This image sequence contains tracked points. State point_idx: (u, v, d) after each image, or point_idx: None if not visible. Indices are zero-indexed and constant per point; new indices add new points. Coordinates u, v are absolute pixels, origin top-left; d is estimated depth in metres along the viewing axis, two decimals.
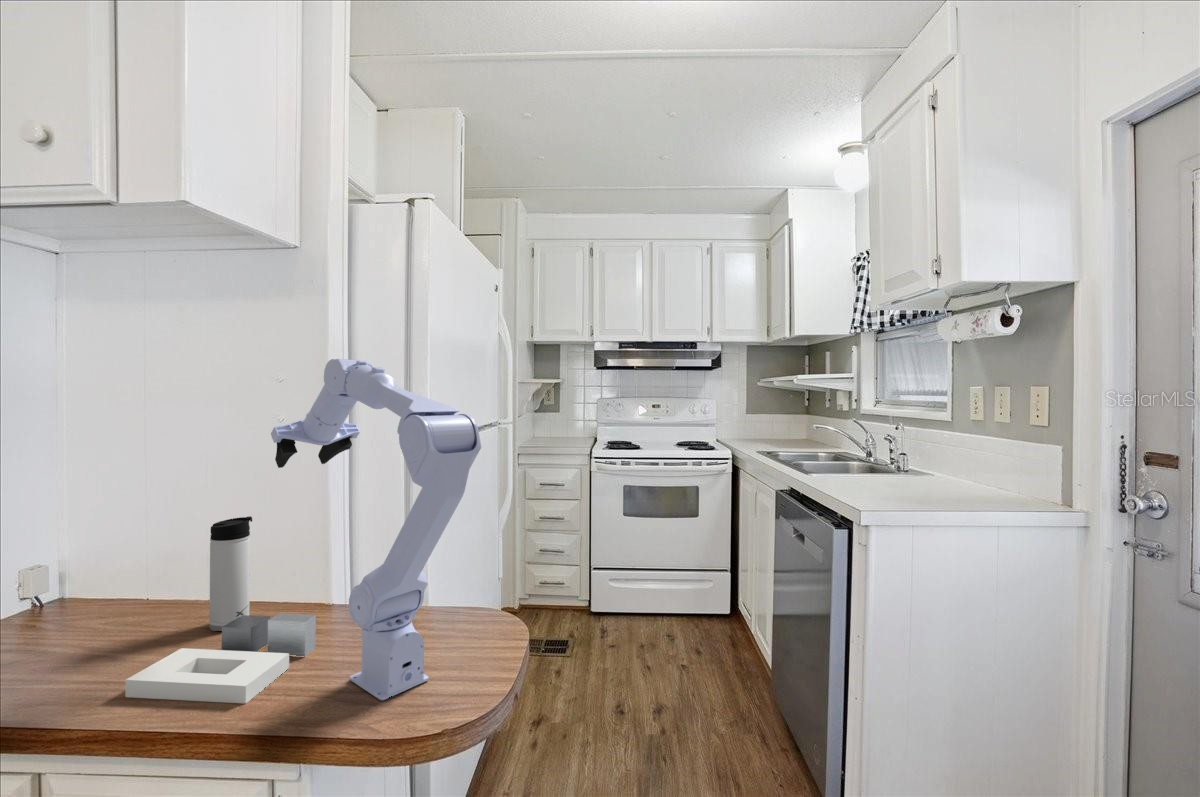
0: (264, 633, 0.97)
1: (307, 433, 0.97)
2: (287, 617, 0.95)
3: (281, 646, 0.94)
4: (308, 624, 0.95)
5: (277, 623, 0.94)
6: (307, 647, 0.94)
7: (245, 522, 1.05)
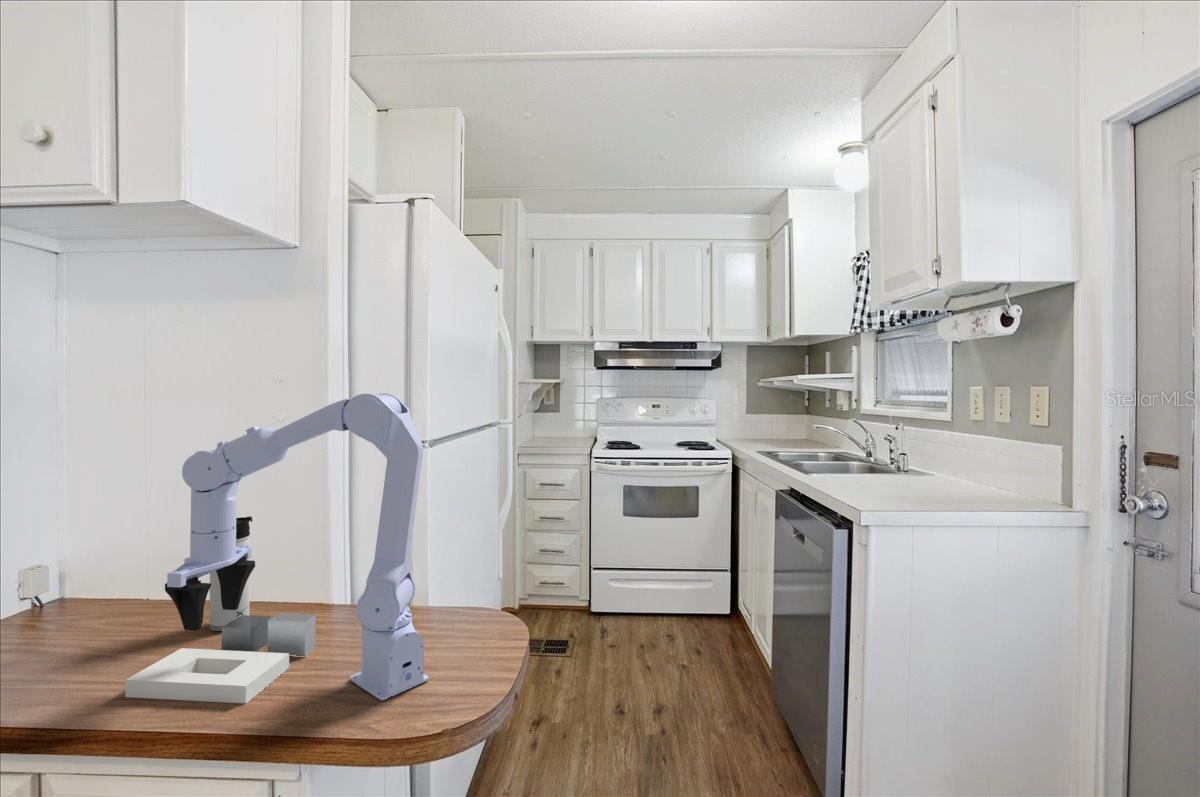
0: (264, 633, 0.97)
1: (207, 561, 0.83)
2: (287, 617, 0.95)
3: (281, 646, 0.94)
4: (308, 624, 0.95)
5: (277, 623, 0.94)
6: (307, 647, 0.94)
7: (245, 522, 1.05)
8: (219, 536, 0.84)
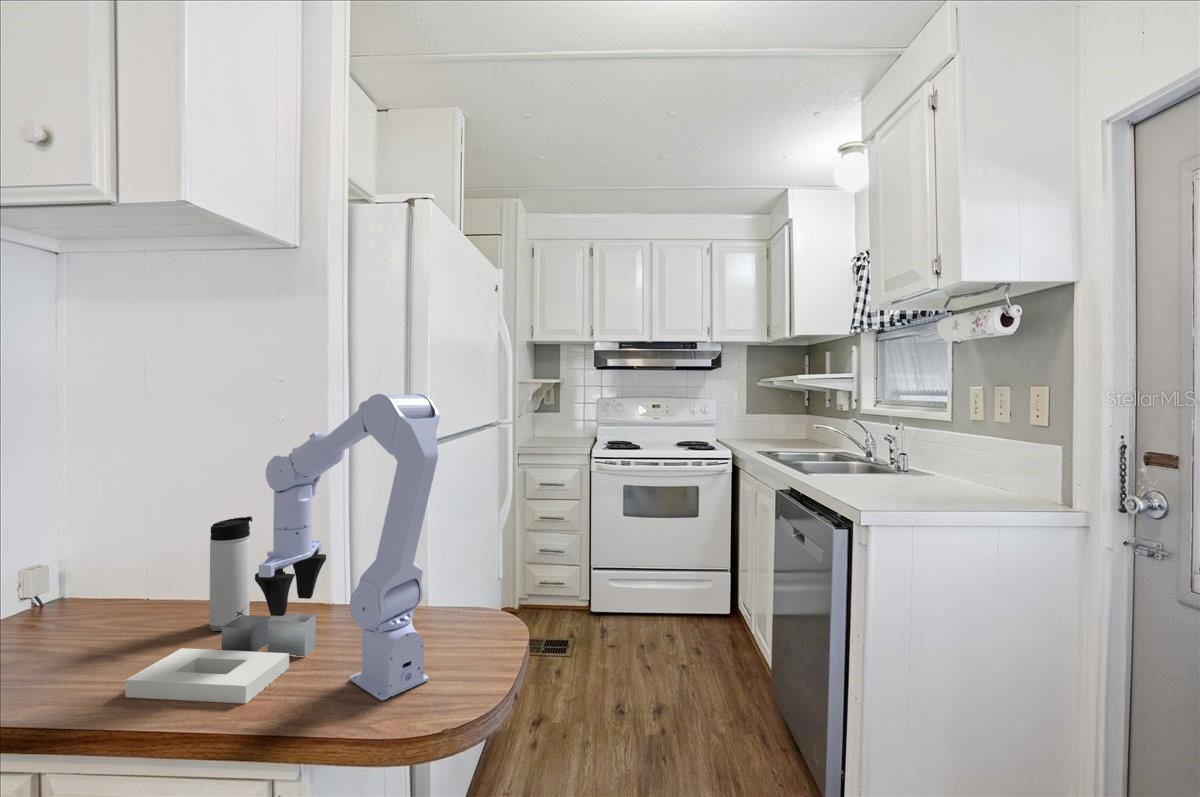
0: (264, 633, 0.97)
1: (290, 554, 0.93)
2: (287, 617, 0.95)
3: (281, 646, 0.94)
4: (308, 624, 0.95)
5: (277, 623, 0.94)
6: (307, 647, 0.94)
7: (245, 522, 1.05)
8: (299, 532, 0.93)
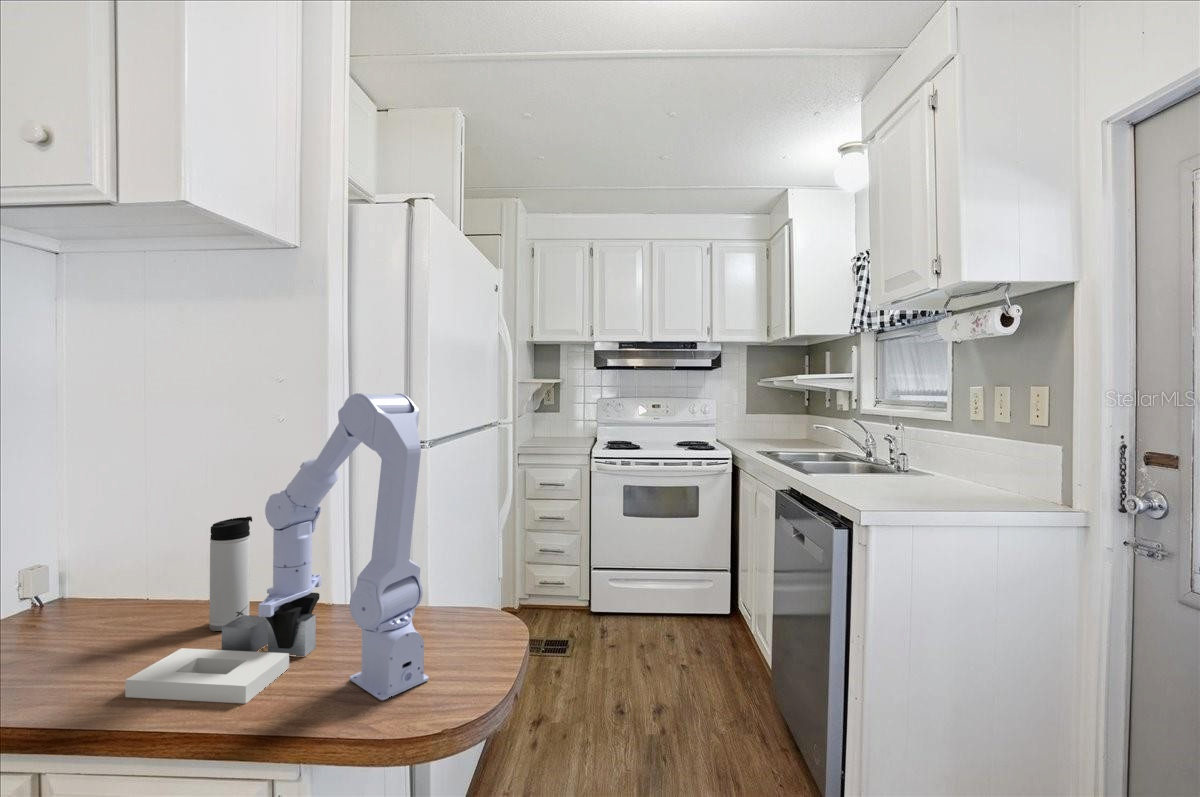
0: (264, 633, 0.97)
1: (290, 591, 0.93)
2: None
3: None
4: (308, 624, 0.95)
5: None
6: (307, 647, 0.94)
7: (245, 522, 1.05)
8: (299, 569, 0.94)
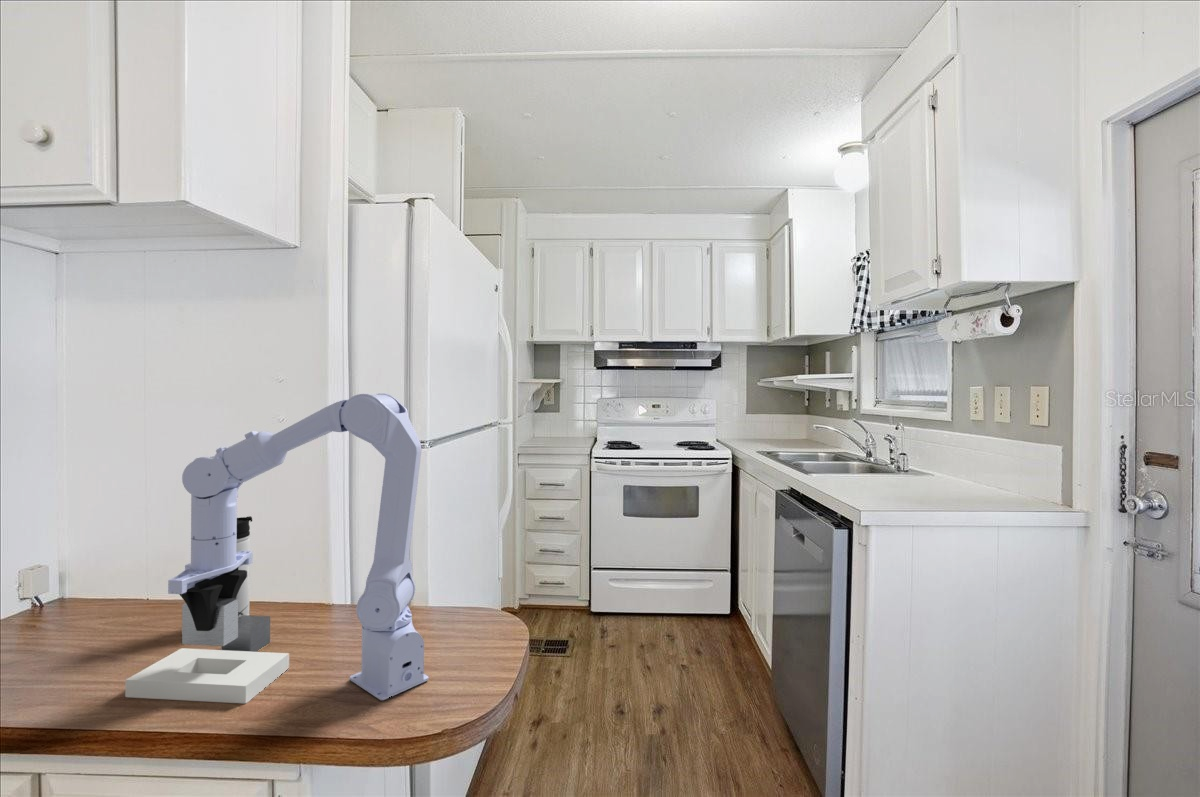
0: (264, 633, 0.97)
1: (208, 567, 0.83)
2: None
3: (196, 634, 0.84)
4: (227, 609, 0.85)
5: None
6: (226, 635, 0.84)
7: (245, 522, 1.05)
8: (220, 542, 0.84)
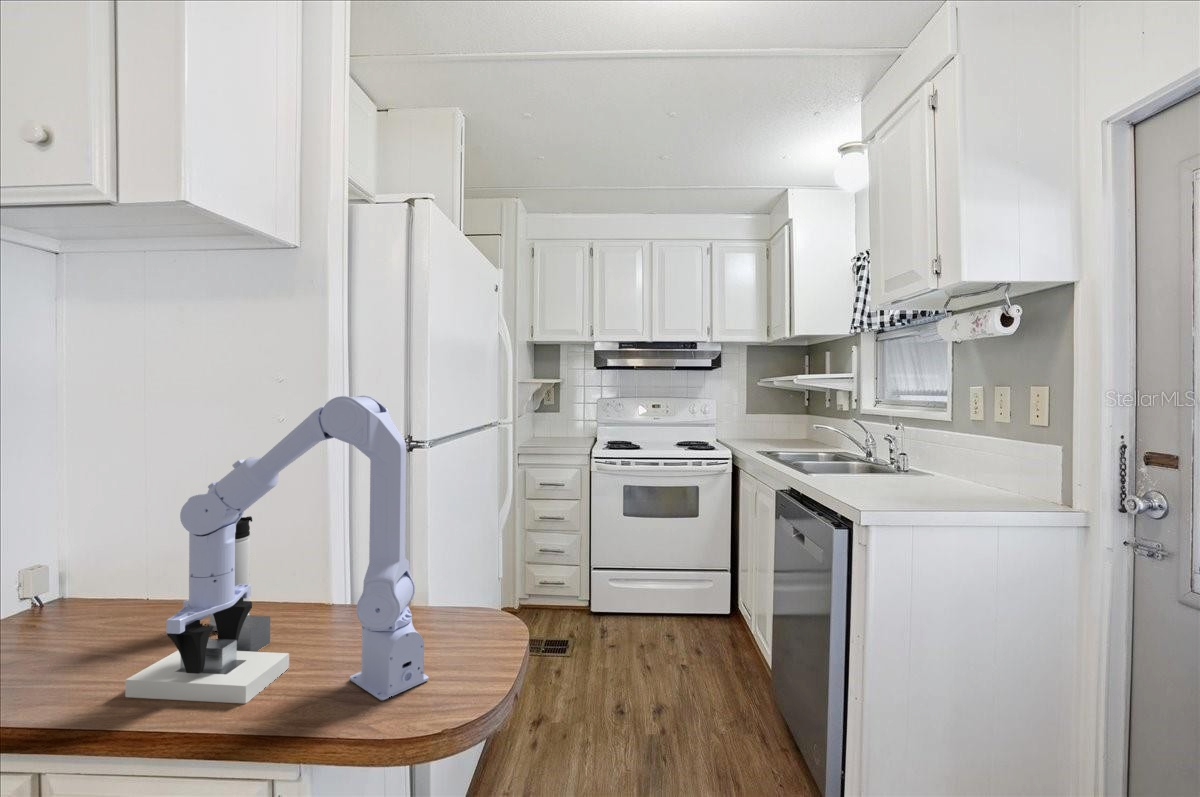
0: (264, 633, 0.97)
1: (206, 604, 0.83)
2: None
3: None
4: (226, 651, 0.85)
5: None
6: None
7: (245, 522, 1.05)
8: (218, 579, 0.83)
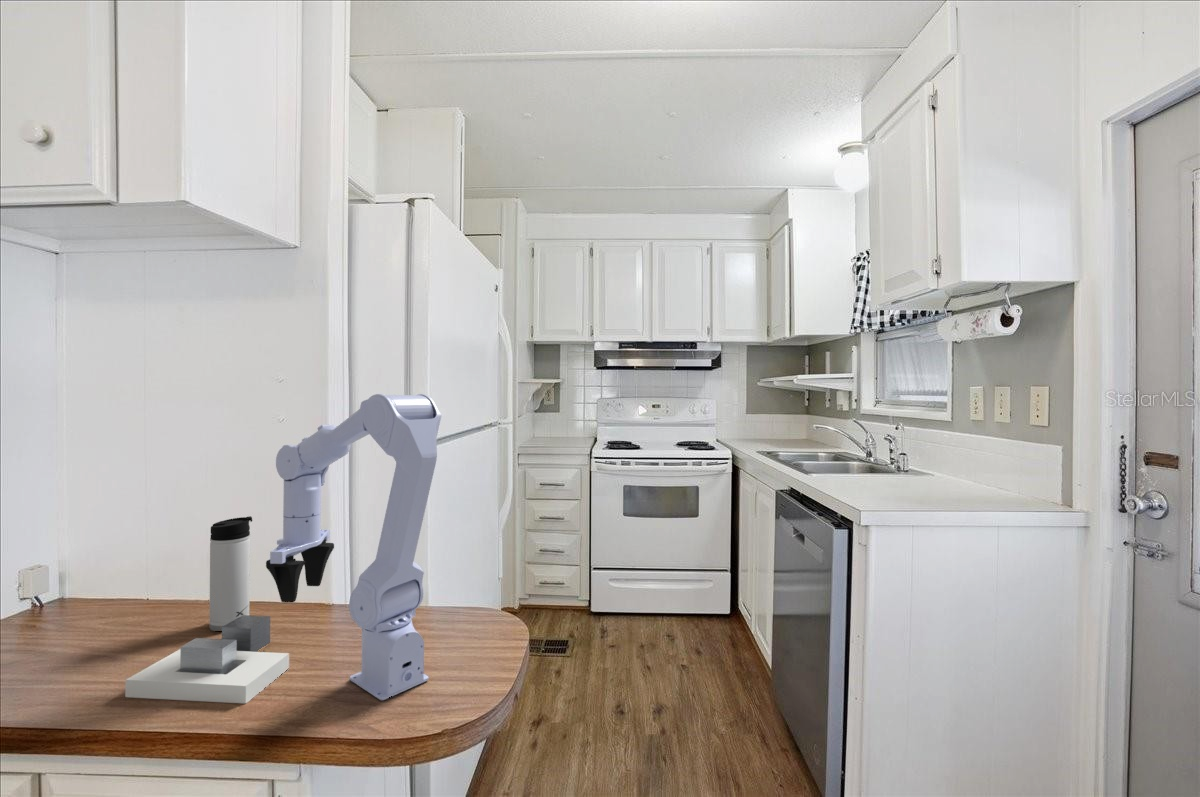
0: (264, 633, 0.97)
1: (300, 541, 0.94)
2: (203, 643, 0.85)
3: None
4: (226, 651, 0.85)
5: (191, 650, 0.84)
6: None
7: (245, 522, 1.05)
8: (309, 520, 0.95)
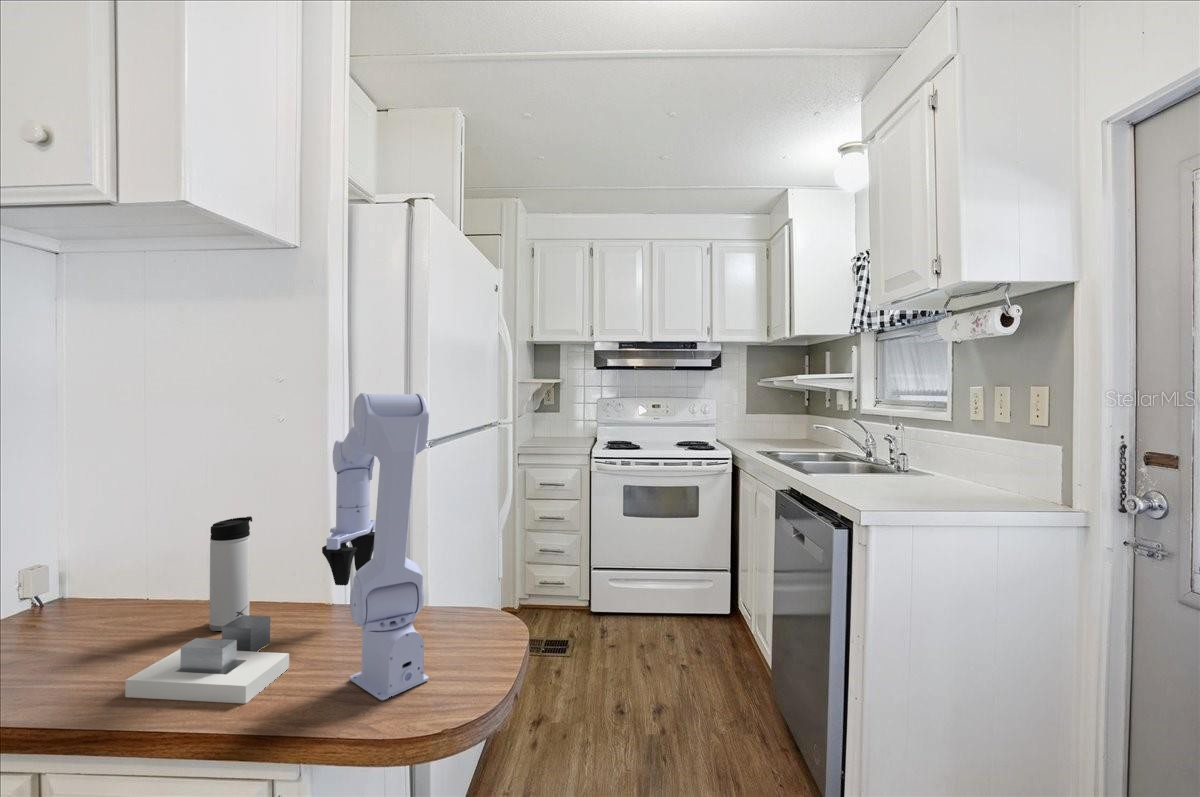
0: (264, 633, 0.97)
1: (352, 530, 1.03)
2: (203, 643, 0.85)
3: None
4: (226, 651, 0.85)
5: (191, 650, 0.84)
6: None
7: (245, 522, 1.05)
8: (360, 510, 1.04)
